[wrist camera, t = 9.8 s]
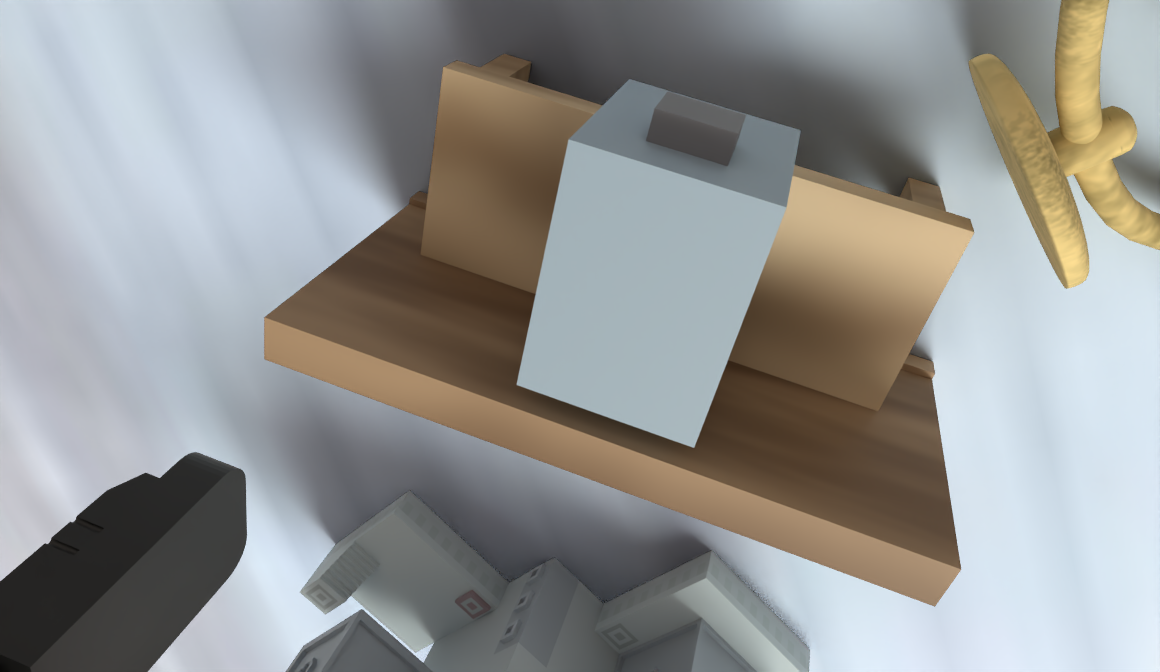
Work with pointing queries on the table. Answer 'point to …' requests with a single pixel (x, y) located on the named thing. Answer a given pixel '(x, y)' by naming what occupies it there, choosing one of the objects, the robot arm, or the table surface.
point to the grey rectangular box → (655, 256)
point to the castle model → (527, 612)
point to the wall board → (751, 376)
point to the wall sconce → (1066, 144)
